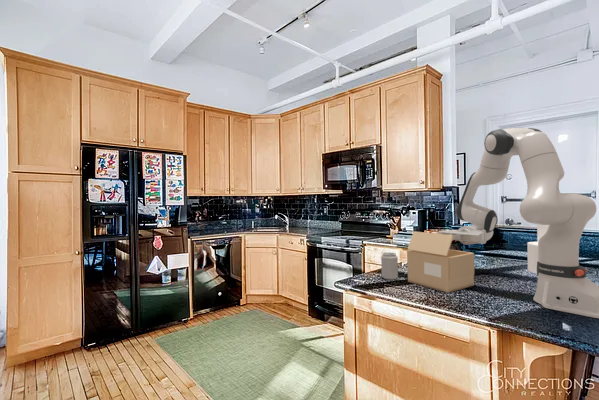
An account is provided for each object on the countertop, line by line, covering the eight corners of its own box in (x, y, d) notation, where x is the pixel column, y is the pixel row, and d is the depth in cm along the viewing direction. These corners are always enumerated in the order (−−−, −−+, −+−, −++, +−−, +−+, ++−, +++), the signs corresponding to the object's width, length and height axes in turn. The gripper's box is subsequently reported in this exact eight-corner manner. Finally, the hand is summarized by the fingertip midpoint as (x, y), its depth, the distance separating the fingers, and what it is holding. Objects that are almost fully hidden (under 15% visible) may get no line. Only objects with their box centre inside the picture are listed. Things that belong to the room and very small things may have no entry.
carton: (476, 285, 134) (475, 253, 134) (449, 293, 124) (448, 258, 124) (432, 275, 152) (432, 246, 152) (406, 281, 143) (405, 250, 142)
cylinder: (555, 268, 162) (554, 214, 162) (582, 276, 145) (581, 216, 145) (520, 267, 164) (519, 214, 164) (542, 276, 147) (541, 216, 146)
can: (394, 281, 144) (394, 255, 144) (379, 278, 148) (378, 253, 148) (400, 277, 150) (399, 252, 150) (385, 275, 154) (384, 251, 154)
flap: (453, 235, 128) (452, 235, 127) (447, 256, 125) (446, 255, 125) (414, 231, 144) (413, 231, 144) (408, 249, 142) (407, 249, 142)
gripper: (447, 227, 158) (430, 228, 151) (489, 230, 141) (471, 232, 134) (447, 239, 158) (430, 242, 151) (489, 244, 141) (472, 247, 134)
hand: (450, 237), depth 142 cm, fingers closed
